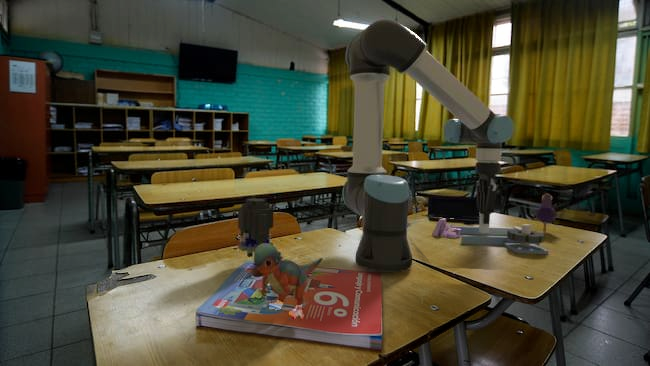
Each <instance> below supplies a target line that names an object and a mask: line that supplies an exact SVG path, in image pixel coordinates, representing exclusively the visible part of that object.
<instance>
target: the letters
mask: <svg viewBox="0 0 650 366" xmlns="http://www.w3.org/2000/svg"><path fill="white" fill-rule="evenodd" d="M452 226H453V225H452V224H451V223H448V224H447V222H446V219H445V218H443V219H439V221H437V223H436V225H435V227H434V229H433V231H432V233H431V236H435V237H440V238H446V239H447V238H450V239H458V238H461V236H462V234H461V229H456V228H453V227H452Z"/></svg>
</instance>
